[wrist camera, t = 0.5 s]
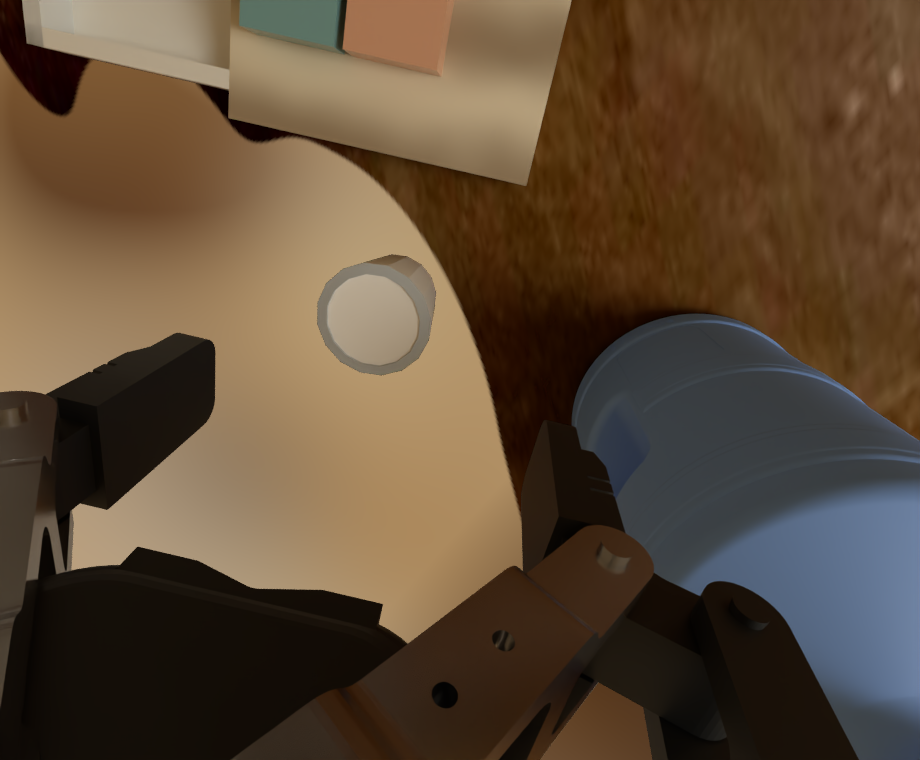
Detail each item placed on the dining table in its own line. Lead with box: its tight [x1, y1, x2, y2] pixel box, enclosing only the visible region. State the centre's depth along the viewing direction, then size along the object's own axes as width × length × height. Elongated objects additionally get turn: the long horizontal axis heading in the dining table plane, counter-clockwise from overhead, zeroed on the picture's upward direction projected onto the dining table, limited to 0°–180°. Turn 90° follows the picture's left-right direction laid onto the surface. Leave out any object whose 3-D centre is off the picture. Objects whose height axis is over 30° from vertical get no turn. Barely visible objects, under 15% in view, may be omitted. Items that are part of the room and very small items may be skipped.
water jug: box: [572, 314, 920, 760], centre depth 25 cm, size 16×16×28 cm
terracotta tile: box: [343, 0, 454, 77], centre depth 26 cm, size 5×5×2 cm
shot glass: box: [317, 255, 436, 375], centre depth 33 cm, size 7×7×7 cm
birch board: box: [228, 0, 571, 186], centre depth 29 cm, size 14×18×3 cm
